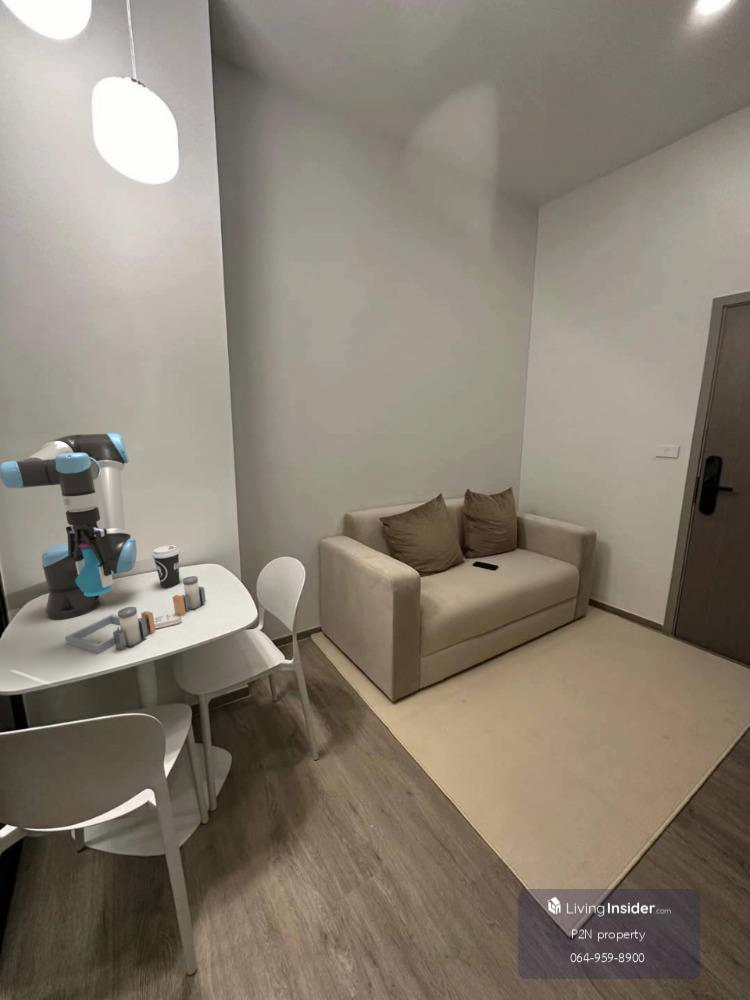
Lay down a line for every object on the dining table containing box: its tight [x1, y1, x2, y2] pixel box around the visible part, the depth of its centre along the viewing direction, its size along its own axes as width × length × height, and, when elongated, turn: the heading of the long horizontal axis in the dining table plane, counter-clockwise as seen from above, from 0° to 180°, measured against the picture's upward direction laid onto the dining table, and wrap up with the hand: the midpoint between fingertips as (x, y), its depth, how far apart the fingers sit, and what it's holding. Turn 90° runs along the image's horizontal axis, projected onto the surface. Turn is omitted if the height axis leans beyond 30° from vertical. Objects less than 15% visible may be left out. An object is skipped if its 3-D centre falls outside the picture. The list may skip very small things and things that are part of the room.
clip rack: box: [112, 586, 207, 651], centre depth 126 cm, size 6×31×7 cm, turn 158°
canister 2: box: [182, 575, 201, 609], centre depth 136 cm, size 5×5×10 cm
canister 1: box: [117, 606, 141, 646], centre depth 115 cm, size 5×5×10 cm
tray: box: [65, 613, 120, 655], centre depth 120 cm, size 14×14×3 cm
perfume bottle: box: [75, 542, 115, 596], centre depth 115 cm, size 9×9×15 cm
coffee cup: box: [151, 544, 181, 589], centre depth 155 cm, size 10×10×15 cm
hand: (96, 583), depth 116 cm, fingers closed on perfume bottle, 9 cm apart
